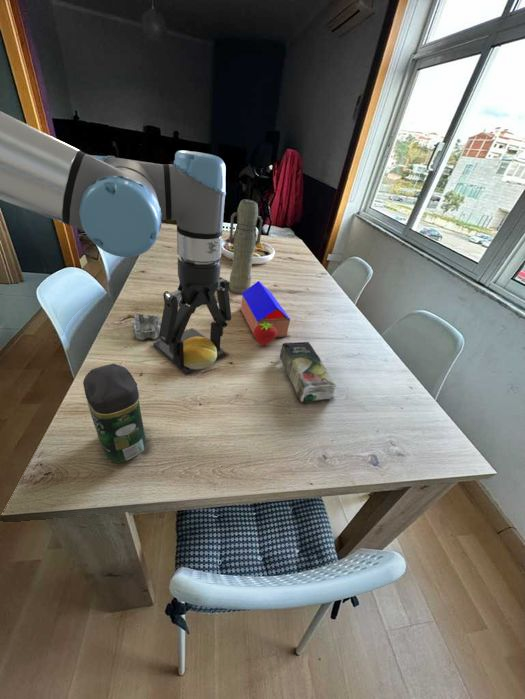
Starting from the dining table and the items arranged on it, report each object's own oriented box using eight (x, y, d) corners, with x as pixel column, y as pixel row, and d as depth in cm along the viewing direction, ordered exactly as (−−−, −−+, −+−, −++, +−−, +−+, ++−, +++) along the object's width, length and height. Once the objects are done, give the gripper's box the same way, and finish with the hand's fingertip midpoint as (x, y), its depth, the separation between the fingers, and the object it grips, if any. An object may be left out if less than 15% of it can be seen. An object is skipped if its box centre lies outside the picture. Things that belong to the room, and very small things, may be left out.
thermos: (255, 294, 125) (268, 205, 104) (227, 293, 121) (235, 201, 101) (250, 285, 131) (261, 200, 111) (224, 284, 128) (231, 196, 107)
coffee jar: (95, 435, 61) (75, 368, 50) (134, 419, 65) (123, 354, 54) (110, 471, 55) (90, 404, 44) (151, 452, 60) (143, 386, 49)
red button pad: (152, 346, 87) (151, 338, 85) (192, 331, 96) (192, 323, 94) (185, 375, 79) (185, 366, 77) (225, 355, 89) (225, 347, 87)
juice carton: (334, 401, 79) (341, 385, 76) (301, 405, 76) (306, 388, 73) (306, 356, 94) (310, 340, 91) (277, 358, 92) (281, 342, 88)
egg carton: (135, 322, 95) (134, 311, 93) (160, 321, 98) (159, 311, 95) (134, 341, 87) (132, 329, 85) (160, 340, 90) (160, 328, 87)
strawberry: (276, 351, 94) (282, 325, 88) (253, 351, 92) (257, 325, 86) (271, 340, 99) (276, 314, 93) (249, 340, 96) (253, 314, 91)
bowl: (284, 261, 164) (286, 247, 159) (245, 270, 144) (247, 254, 140) (247, 244, 178) (248, 230, 174) (207, 250, 159) (208, 235, 154)
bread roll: (175, 369, 61) (174, 354, 58) (182, 344, 68) (182, 330, 66) (215, 372, 62) (216, 358, 59) (218, 347, 69) (219, 333, 67)
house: (254, 338, 98) (259, 308, 91) (239, 309, 113) (243, 280, 106) (287, 336, 102) (294, 307, 95) (268, 308, 117) (273, 280, 110)
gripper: (154, 277, 43) (163, 387, 56) (256, 255, 57) (244, 347, 70) (128, 259, 46) (142, 367, 60) (230, 243, 61) (223, 332, 74)
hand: (197, 356), depth 65 cm, fingers closed on bread roll, 9 cm apart
